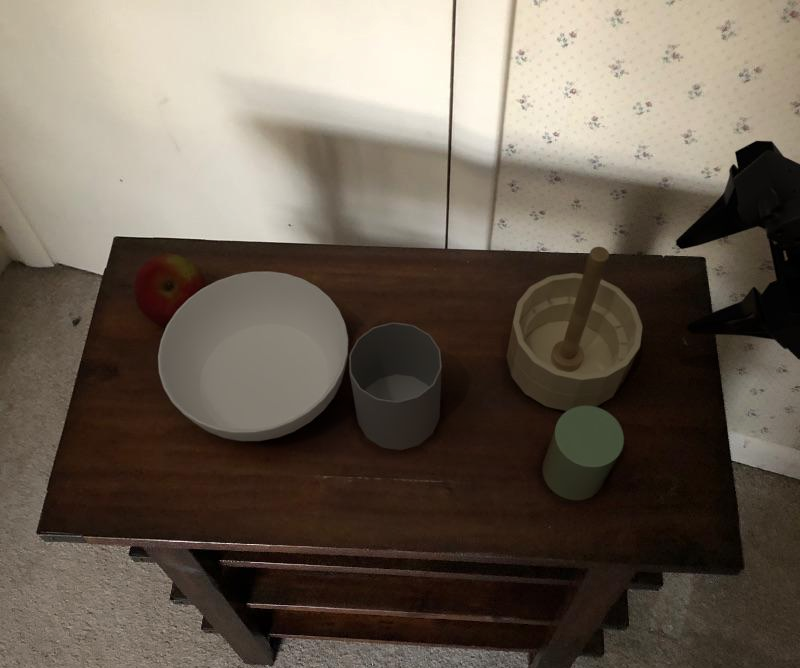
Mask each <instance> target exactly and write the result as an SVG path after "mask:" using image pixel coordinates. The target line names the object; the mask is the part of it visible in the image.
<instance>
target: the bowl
mask: <svg viewBox="0 0 800 668" xmlns="http://www.w3.org/2000/svg"><path fill="white" fill-rule="evenodd" d="M348 358H349V335H348V329H347V324H346V322H345V320H344V318H343V316H342V313H341V311H340V309H339V307H338V306H337V305H336V304H335V303H334V301H333V300H332V299H331V297H330V296H329V295H327V294H326V293H325V292H324V291H323V290H322V289H321V288H319V287H318V286H317V285H315V284H313V283H311V282H309V281H307V280H305V279H304V278H300V277H298V276H294V275H292V274H289V273H283V272H277V271H247V272H242V273H237V274H233V275H230V276H228V277H224V278H221V279H218V280H216V281H214V282H212V283H210V284H207V286H206V287H204V288H203V289H201V290H200V291H198V292H197V293H196V294H194V295H193V296H192V297H190V298H189V299H188V300H187V301H186V302H185V303H184V304H183V305H182V306H181V307H180V308H179V309H178V310H177V311H176V313H175V314H174V316H173V317H172V319H171V320H170V322H169V323H168V325H167V327H166V328H165V329H164V332H163V334H162V337H161V338H160V342H159V348H158V355H157V363H158V375H159V378H160V382H161V384H162V388H163V390H164V392H165V393H166V395H167V397H168V398H169V400H170V402H171V403H172V405H174V407H176V409H178V410H179V412H181V413H182V415H184V416H185V417H186V418H188V419H189V420H190V421H191V422H193V423H194V424H195V425H197V426H199V427H200V428H201V429H203V430H205V431H206V432H208V433H209V434H211V435H215V436H217V437H220V438H223V439H226V440H232V441H237V442H238V441H239V442H262V441H268V440H272V439H278V438H281V437H283V436H287V435H288V434H291V433H294V432H296V431H297V430H299V429H301V428H303V427H305V426H306V425H307V424H309V423H311V422H312V421H314V420H315V418H317V417H318V416H319V415H320V414H322V412H324V411H325V410H326V408H327V407H328V406H329V404H330V403H332V401H333V399H334V398H335V396H336V394H337V393H338V390H339V388H340V386H341V385H342V382H343V379H344V374H345V370H346V366H347V361H348Z"/></svg>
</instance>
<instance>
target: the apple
mask: <svg viewBox="0 0 800 668" xmlns="http://www.w3.org/2000/svg"><path fill="white" fill-rule="evenodd" d="M206 286H208V282H207V278H206V276H205V274H204V272H203V271H202V269H201V268H200V267H199V266H198V265H197V264H196V263H194V261H192V260H190V259H189V258H186V257H184V256H181V255H179V254H174V253H161V254H158V255H156V256H153V257H152V258H150V259H148V260H146V261H145V262H144V263H143V264H142V266H140V268H139V269H138V271H137V274H136V276H135V279H134V286H133V287H134V289H133V290H134V299H135V303H136V304H137V307H138V309H139V310H140V311H141V313H142V314H143V315H144V316H145V317H146V318H147V319H148V320H150V321H151V322H152V323H154V324H155V325H157V326H159V327H160V328H165V329H166V327H167V325H168V323H169V322H170V320H171V319H172V317H173V316H174V314H175V313H176V311H177V310H178V309H179V308H180V307H181V306H182V305H183V304H184V303H185V302H186V301H187V300H188V299H189V298H190V297H192V296H193V295H194V294H196V293H197V292H198V291H200V290H201V289H203V288H204V287H206Z"/></svg>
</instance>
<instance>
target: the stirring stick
mask: <svg viewBox="0 0 800 668" xmlns="http://www.w3.org/2000/svg"><path fill="white" fill-rule="evenodd" d="M609 257H610V252H609V250H608V249H607V248H605V247H602V246H595V247H592V249H590V251H589V254H588V258H587V261H586V264H585V267H584V268H585V269H584V271H583V273H582V274H583V277H582V281H581V284H580V287H579V291H578V294H577V297H576V301H575V304H574V307H573V311H572V314H571V317H570V321H569V324H568V327H567V330H566V334H565V337H564V340H563V341H560V342H558V343H557V344H555V346H554V347H553V350H552V353H551V362H552V364H553V365H554V366H555V367H556V368H557V369H558V370H561V371H566V372H571V371H574V370H576V369H578V368H579V366H580V365H581V363H582V360H583V356H584V353H583V350H582V348H581V346H580V345H579V344H580V341H581V338H582V335H583V332H584V329H585V326H586V323H587V320H588V317H589V314H590V311H591V308H592V305H593V302H594V299H595V296H596V293H597V290H598V288H599V285H600V282H601V279H602V278H603V275H604V272H605V269H606V267H607V264H608V260H609ZM602 280H603V279H602Z"/></svg>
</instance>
